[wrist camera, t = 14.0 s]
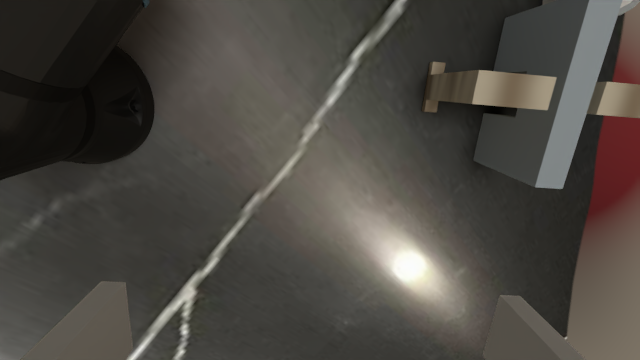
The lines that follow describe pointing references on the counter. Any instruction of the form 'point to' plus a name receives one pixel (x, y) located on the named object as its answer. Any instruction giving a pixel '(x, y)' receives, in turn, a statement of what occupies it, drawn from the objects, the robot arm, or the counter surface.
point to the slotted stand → (521, 91)
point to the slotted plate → (568, 94)
